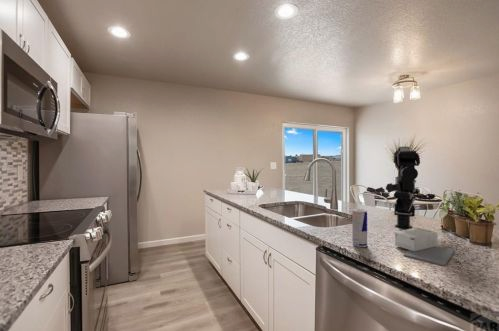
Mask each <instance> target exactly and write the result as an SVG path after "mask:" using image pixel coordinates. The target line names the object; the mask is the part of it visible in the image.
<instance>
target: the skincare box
mask: <svg viewBox="0 0 499 331" xmlns="http://www.w3.org/2000/svg"><path fill="white" fill-rule="evenodd" d="M394 246H395V247H396V246H397V247H399V248H402V249H404V250H405V249H406V250H407V251H408V250H411V251H418V250H422V249H427V248H431V247H438V231H434V230H430V229H425V228H421V227H415V228H413V227H412V228H410V229H403V230H398V231H397V230H396V231H394Z"/></svg>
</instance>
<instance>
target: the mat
mask: <svg viewBox="0 0 499 331" xmlns="http://www.w3.org/2000/svg"><path fill="white" fill-rule="evenodd" d="M454 253H455V250H454V249H448V248H444V247H439V246H435V247H431V248H427V249H422V250H418V251H411V250H408V249H407V251H406V252H405V253H403V256H404V257H407V258H410V259H413V260H419V261H423V262H425V263H430V264H435V265H439V266H442V267H446V265H447V264H448V262H449V260H450V259H451V257H452V256H453V255H454Z"/></svg>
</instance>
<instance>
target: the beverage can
mask: <svg viewBox="0 0 499 331" xmlns="http://www.w3.org/2000/svg"><path fill="white" fill-rule="evenodd" d="M351 213H352V218H351V220H352V245H353V246H354V247H357V248H366V247H367V246H368V211H367V210H366V209H363V208H353V209H352V212H351Z"/></svg>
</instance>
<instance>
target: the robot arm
mask: <svg viewBox="0 0 499 331" xmlns="http://www.w3.org/2000/svg"><path fill="white" fill-rule="evenodd" d="M393 163H394V166H395V168H396V170H397V171H398V181H397V183H391V182H390V183H387V184H386V186H385V190H386V191H387V193H388V194H389V193H391V192H394V193H393V199H396V200H395V203H394V205H393V206H394V207H393V214H394V216H397V217H396V219H397V220H396V225H394V227H395V228H401V229H405V230H407V229H412V228H413V225H411V217H412V218H414V217H415V216H416V215H415V212H416V207H415V206H414V202H415V201H416V199H417V196H418V195H419V196H420V195H421V190H420V189H419V188H417V187H416V183H417V180H416V179H417V178H418V176H419V171H418V170H417V168H416V167H419V166H420V163H421V159H420V154H419V153H418V152H417V151H416V150H411V149H410V146H398V147H397V150H396V151H394V153H393ZM415 194H416V195H417V196H414V195H415Z"/></svg>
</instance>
